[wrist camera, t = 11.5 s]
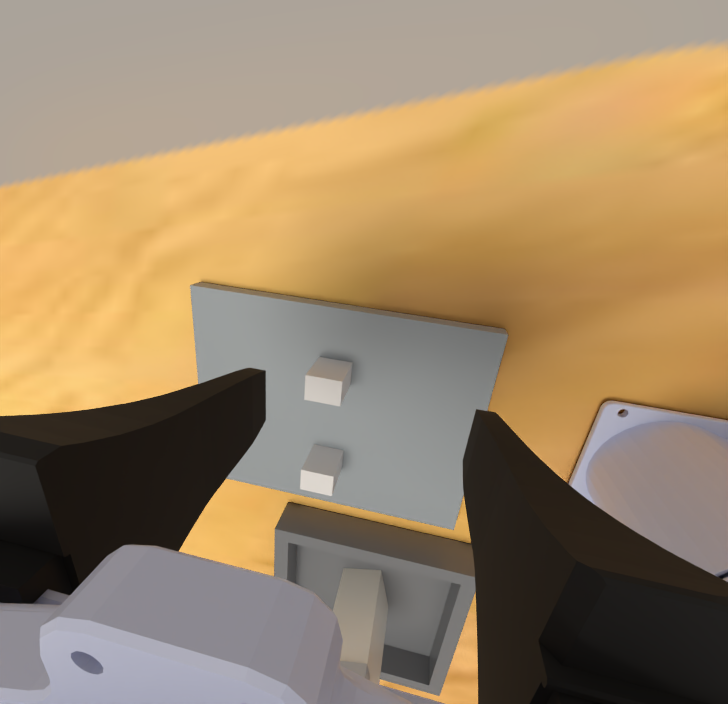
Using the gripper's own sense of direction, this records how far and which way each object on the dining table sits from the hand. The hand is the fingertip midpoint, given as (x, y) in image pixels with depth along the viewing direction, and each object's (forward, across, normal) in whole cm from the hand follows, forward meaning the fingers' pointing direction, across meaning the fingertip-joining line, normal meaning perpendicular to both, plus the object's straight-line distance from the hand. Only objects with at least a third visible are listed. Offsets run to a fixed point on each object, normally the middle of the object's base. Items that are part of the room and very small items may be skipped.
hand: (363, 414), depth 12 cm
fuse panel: (+9, +3, +6) cm, 12 cm away
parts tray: (+9, -1, +22) cm, 24 cm away
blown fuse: (+9, -1, +22) cm, 23 cm away
